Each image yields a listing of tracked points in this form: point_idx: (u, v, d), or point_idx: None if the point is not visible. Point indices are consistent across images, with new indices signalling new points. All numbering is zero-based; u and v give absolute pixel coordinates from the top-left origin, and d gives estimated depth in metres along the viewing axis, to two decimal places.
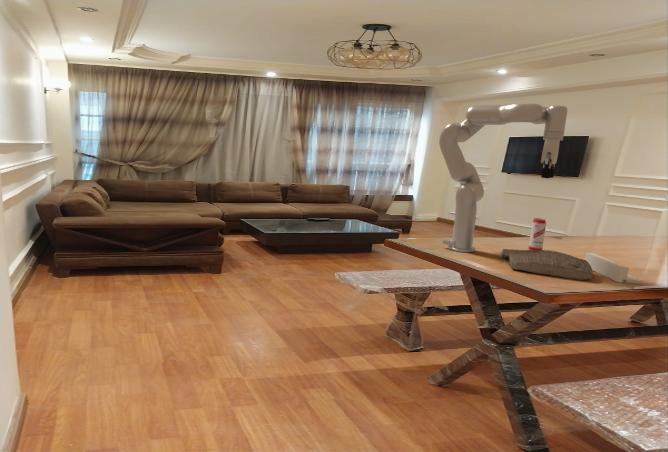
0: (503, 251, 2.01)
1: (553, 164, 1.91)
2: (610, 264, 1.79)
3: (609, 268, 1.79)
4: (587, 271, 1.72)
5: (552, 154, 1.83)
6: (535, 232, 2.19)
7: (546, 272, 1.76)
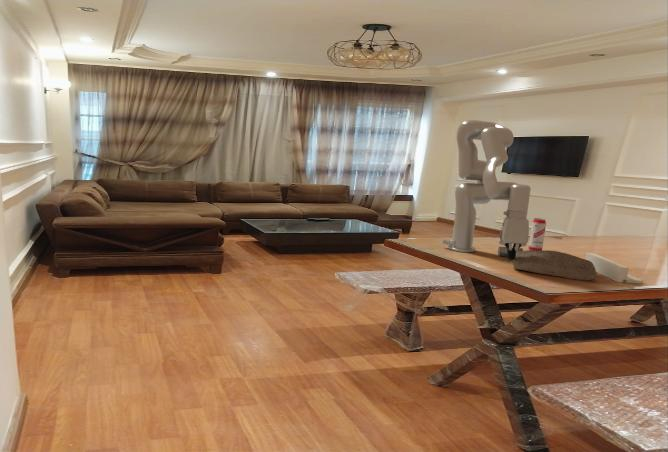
0: (498, 252, 2.06)
1: None
2: (610, 264, 1.79)
3: (609, 268, 1.79)
4: (590, 272, 1.71)
5: None
6: (535, 232, 2.19)
7: (549, 272, 1.76)
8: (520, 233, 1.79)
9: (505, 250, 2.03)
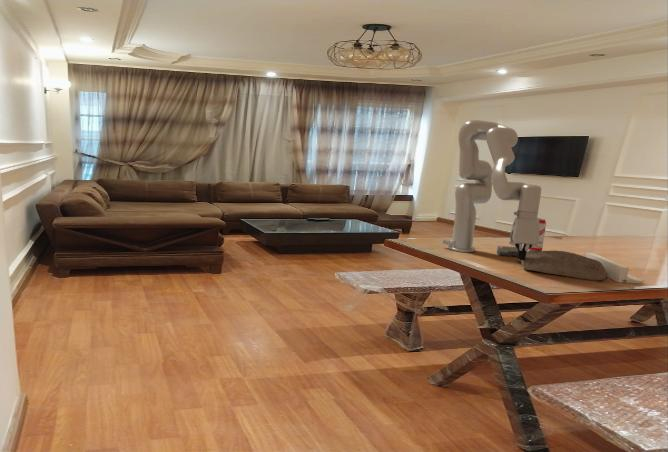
0: (498, 253, 2.07)
1: None
2: (610, 264, 1.79)
3: (609, 268, 1.79)
4: (600, 272, 1.72)
5: None
6: None
7: (559, 273, 1.76)
8: (531, 233, 1.79)
9: (503, 247, 2.06)
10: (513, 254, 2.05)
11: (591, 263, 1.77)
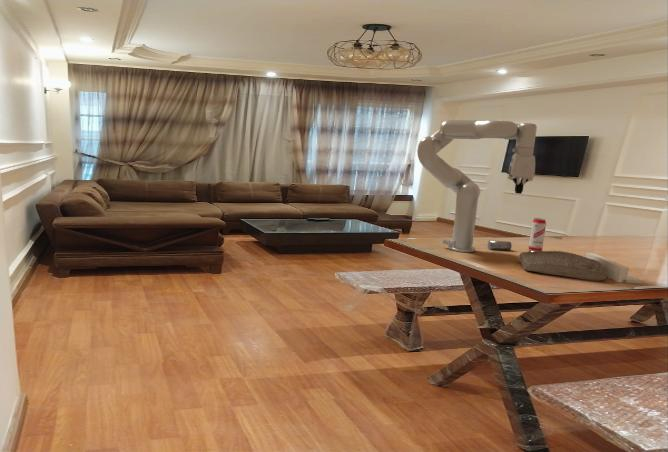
0: (488, 246, 2.20)
1: None
2: (610, 264, 1.79)
3: (609, 268, 1.79)
4: (601, 272, 1.72)
5: None
6: (535, 232, 2.19)
7: (560, 273, 1.75)
8: (527, 168, 1.96)
9: (494, 242, 2.17)
10: (502, 249, 2.18)
11: (591, 263, 1.76)
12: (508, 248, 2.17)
